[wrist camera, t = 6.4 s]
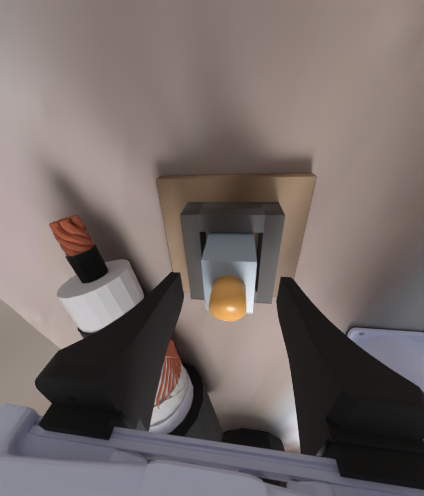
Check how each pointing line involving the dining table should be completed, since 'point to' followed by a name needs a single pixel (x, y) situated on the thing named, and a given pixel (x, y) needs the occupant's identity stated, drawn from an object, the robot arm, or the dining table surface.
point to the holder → (237, 222)
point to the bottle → (256, 445)
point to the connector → (229, 274)
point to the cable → (114, 306)
